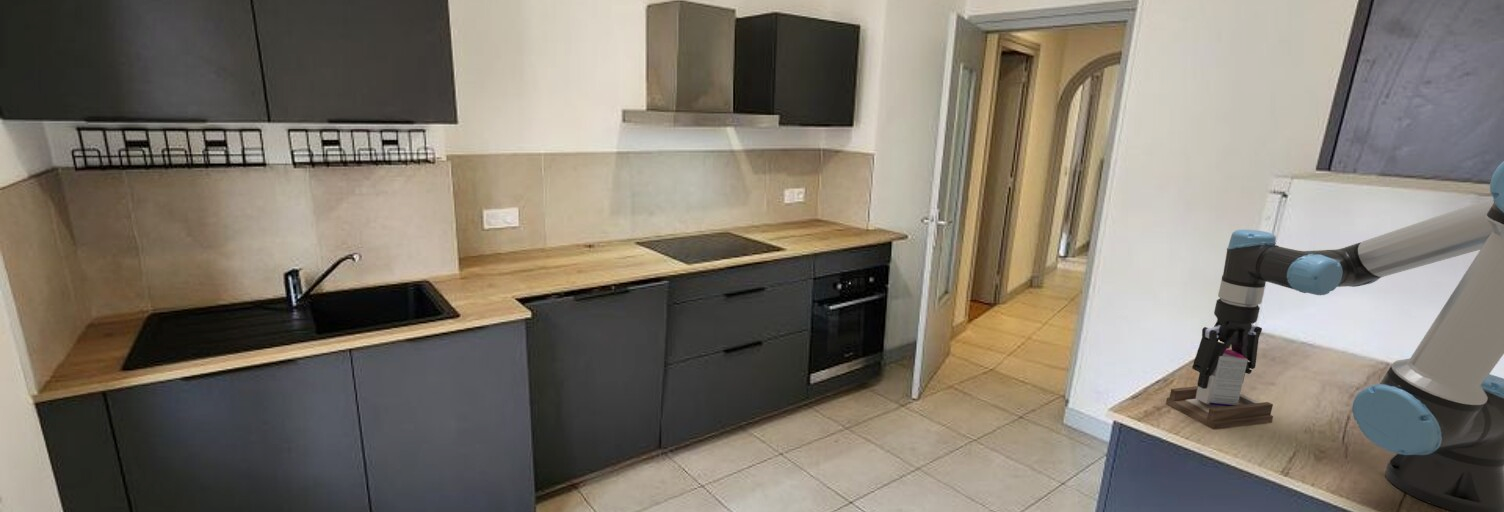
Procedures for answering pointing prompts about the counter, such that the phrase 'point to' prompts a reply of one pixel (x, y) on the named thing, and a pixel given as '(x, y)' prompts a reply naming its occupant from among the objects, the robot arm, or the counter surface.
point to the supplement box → (1228, 379)
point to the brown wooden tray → (1220, 410)
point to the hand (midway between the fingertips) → (1216, 399)
